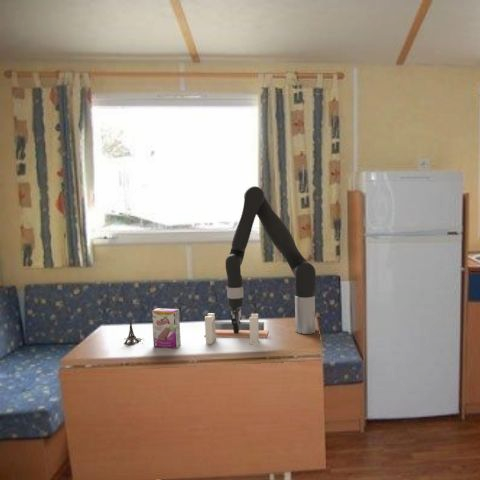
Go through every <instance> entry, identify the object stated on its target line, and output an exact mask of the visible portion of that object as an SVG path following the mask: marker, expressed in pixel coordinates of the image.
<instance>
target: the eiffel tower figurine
mask: <svg viewBox="0 0 480 480" xmlns="http://www.w3.org/2000/svg"><path fill="white" fill-rule="evenodd" d="M142 339H143V338H142ZM142 339H141V337H137V336H136V335H135V333H134V330H133V324H132V318H131V317H129V331H128V336H127V338H125V340H124V343H123V345H126V344H127V345H126V346H130V347H132V346H134V345H137V344H140V343H139V342H141V340H142ZM134 341H135V342H134Z"/></svg>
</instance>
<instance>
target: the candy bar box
mask: <svg viewBox="0 0 480 480" xmlns="http://www.w3.org/2000/svg"><path fill="white" fill-rule="evenodd" d="M151 316H152V318H151V320H152V322H151V323H152V337H153V338H152V340H153V341H152V342H153V347H154V348H155V347H156V348H157V347H158V348H168V349H169V348H170V349H176V348H178V347H180V346H181V345H182V344H181V343H182V342H181V330H180V329H181V327H180V326H181V324H180V323H181V322H180V309H179V308H178V309H177V308H164V307H163V308H162V307H158V308H155V309H153V310H151Z"/></svg>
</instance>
